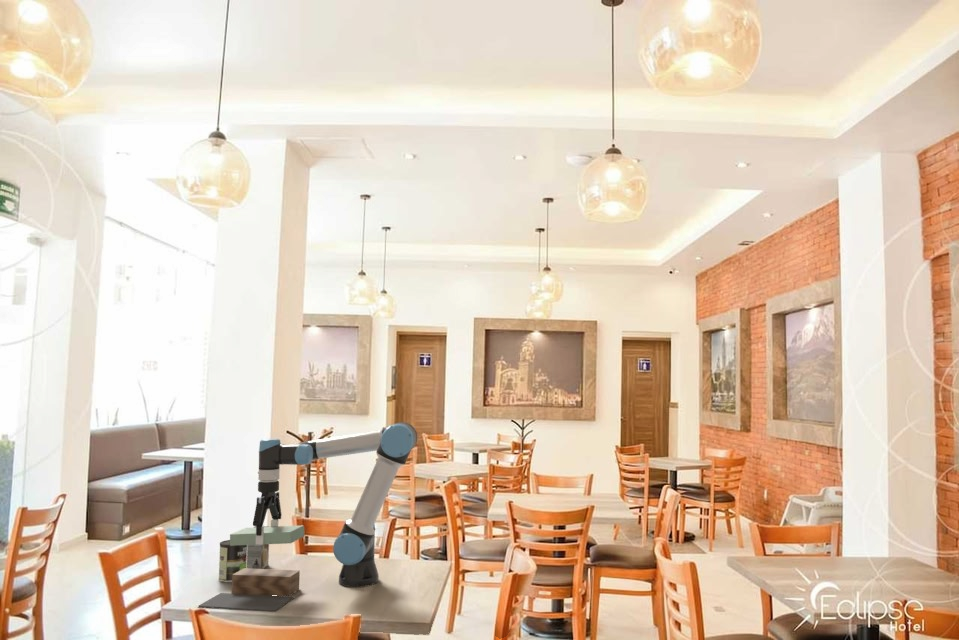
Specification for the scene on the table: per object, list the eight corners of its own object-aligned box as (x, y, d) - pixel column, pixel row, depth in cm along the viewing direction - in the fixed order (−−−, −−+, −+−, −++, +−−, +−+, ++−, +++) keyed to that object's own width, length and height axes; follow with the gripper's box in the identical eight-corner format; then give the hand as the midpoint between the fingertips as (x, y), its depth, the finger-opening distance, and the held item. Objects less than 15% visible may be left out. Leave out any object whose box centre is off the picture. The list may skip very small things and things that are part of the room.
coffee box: (253, 564, 292) (254, 525, 293) (268, 565, 292) (269, 526, 293) (246, 570, 283) (247, 530, 284) (261, 570, 283) (262, 530, 284)
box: (299, 589, 258) (299, 570, 258) (289, 597, 249) (289, 577, 249) (243, 587, 261) (243, 568, 261) (231, 594, 252) (232, 574, 252)
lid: (304, 536, 260) (304, 525, 260) (290, 543, 249) (290, 532, 249) (246, 538, 264) (245, 527, 265) (230, 545, 254) (229, 534, 254)
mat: (294, 598, 247) (294, 596, 247) (275, 611, 232) (275, 610, 232) (220, 594, 251) (220, 592, 251) (197, 607, 236) (198, 605, 236)
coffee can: (251, 576, 275) (252, 539, 276) (237, 583, 265) (238, 545, 266) (227, 574, 277) (229, 538, 278) (212, 581, 267) (214, 544, 268)
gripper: (273, 476, 271) (271, 533, 269) (243, 484, 248) (241, 547, 246) (291, 476, 270) (290, 534, 268) (263, 485, 247) (261, 548, 245)
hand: (267, 540), depth 257 cm, fingers closed on lid, 11 cm apart
